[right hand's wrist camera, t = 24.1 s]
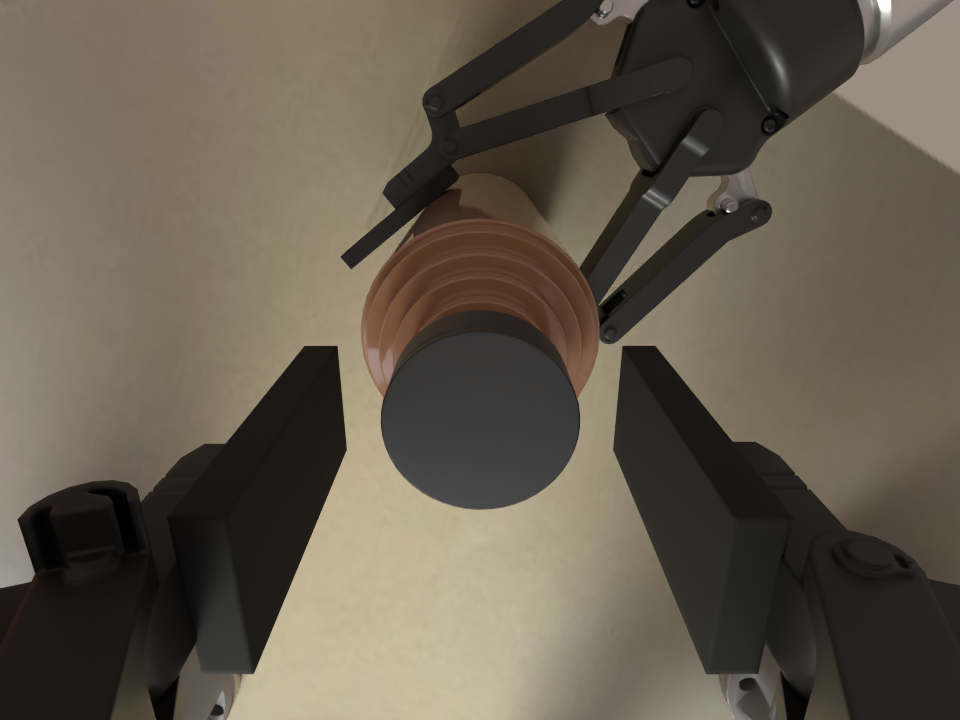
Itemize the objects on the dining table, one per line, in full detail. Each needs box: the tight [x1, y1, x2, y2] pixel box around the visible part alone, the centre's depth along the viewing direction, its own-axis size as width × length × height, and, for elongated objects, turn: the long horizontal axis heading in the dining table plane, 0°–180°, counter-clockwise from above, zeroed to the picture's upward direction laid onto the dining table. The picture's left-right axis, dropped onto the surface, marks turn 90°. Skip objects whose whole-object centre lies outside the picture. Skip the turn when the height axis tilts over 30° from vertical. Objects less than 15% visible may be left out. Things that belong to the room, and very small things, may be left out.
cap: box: [381, 310, 580, 510], centre depth 14 cm, size 4×4×2 cm
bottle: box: [361, 173, 599, 398], centre depth 25 cm, size 7×7×24 cm
